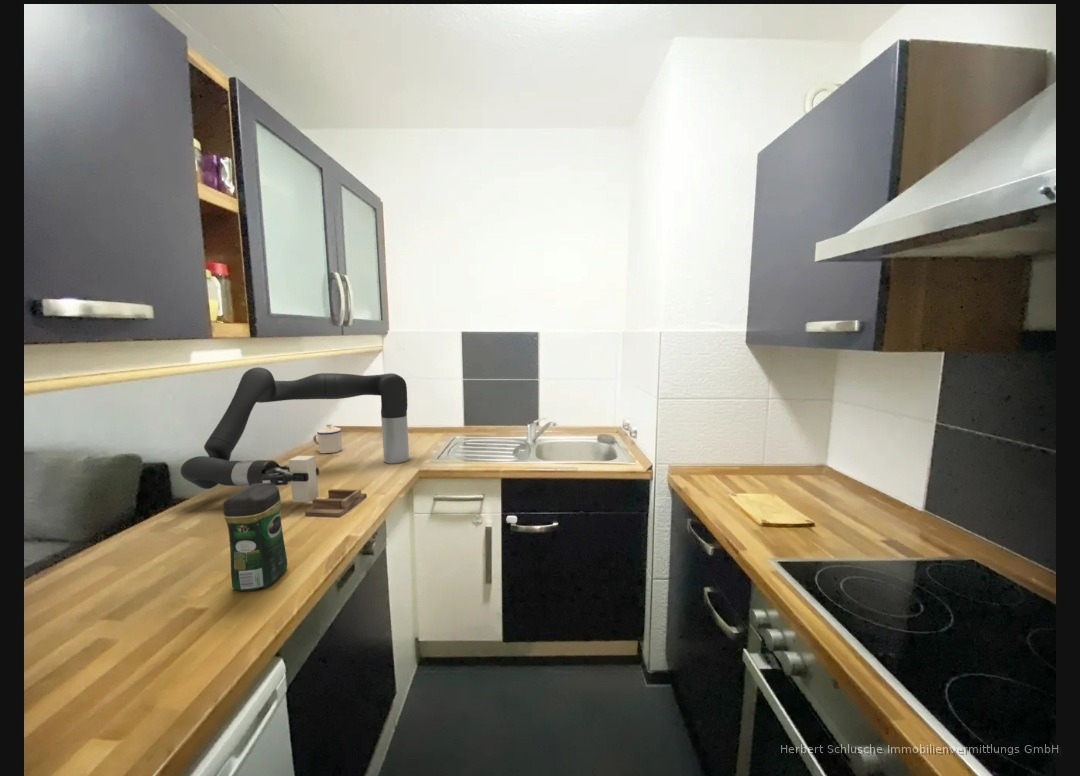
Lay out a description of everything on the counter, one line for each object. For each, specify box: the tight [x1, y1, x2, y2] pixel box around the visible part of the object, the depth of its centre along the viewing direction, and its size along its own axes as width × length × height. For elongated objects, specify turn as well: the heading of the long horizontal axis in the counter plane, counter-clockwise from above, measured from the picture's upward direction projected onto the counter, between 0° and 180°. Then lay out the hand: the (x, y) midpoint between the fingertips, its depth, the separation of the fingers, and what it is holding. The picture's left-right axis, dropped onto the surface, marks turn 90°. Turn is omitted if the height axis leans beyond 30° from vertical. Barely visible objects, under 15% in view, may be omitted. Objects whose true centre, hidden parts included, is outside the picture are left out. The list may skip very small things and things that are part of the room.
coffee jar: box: [222, 483, 288, 592], centre depth 82 cm, size 10×8×19 cm
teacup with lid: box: [312, 423, 343, 454], centre depth 175 cm, size 12×9×12 cm
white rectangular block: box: [288, 455, 319, 503], centre depth 118 cm, size 4×5×12 cm
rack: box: [304, 488, 368, 518], centre depth 118 cm, size 14×10×3 cm
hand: (312, 474), depth 118 cm, fingers closed on white rectangular block, 4 cm apart
